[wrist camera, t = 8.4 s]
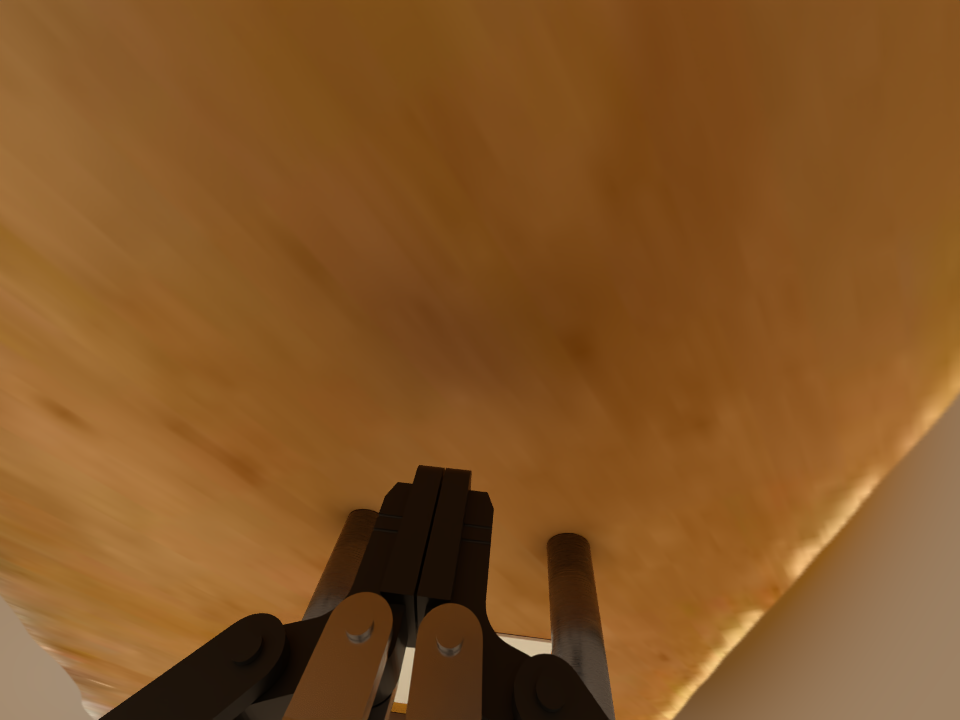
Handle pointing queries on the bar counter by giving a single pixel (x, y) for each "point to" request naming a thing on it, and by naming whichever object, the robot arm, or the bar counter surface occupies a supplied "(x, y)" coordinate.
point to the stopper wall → (397, 716)
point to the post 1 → (342, 563)
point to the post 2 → (577, 615)
